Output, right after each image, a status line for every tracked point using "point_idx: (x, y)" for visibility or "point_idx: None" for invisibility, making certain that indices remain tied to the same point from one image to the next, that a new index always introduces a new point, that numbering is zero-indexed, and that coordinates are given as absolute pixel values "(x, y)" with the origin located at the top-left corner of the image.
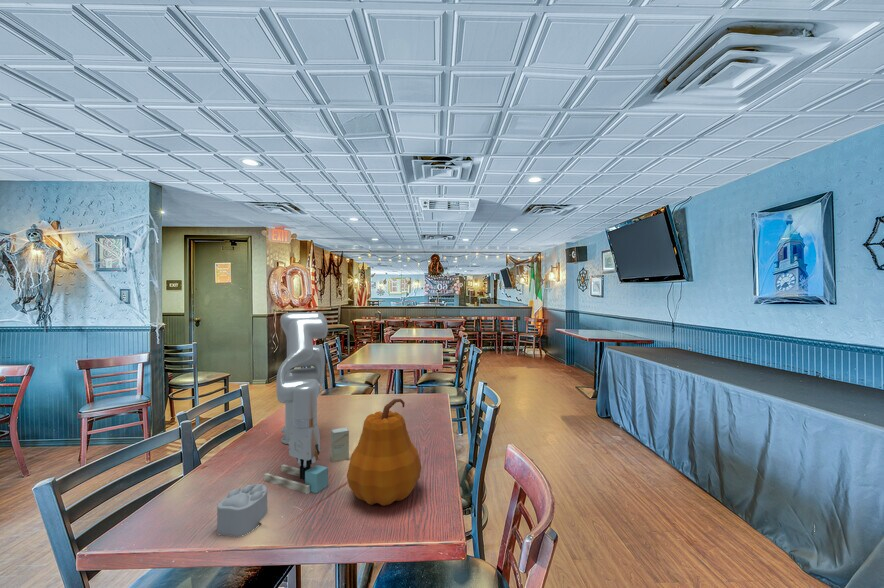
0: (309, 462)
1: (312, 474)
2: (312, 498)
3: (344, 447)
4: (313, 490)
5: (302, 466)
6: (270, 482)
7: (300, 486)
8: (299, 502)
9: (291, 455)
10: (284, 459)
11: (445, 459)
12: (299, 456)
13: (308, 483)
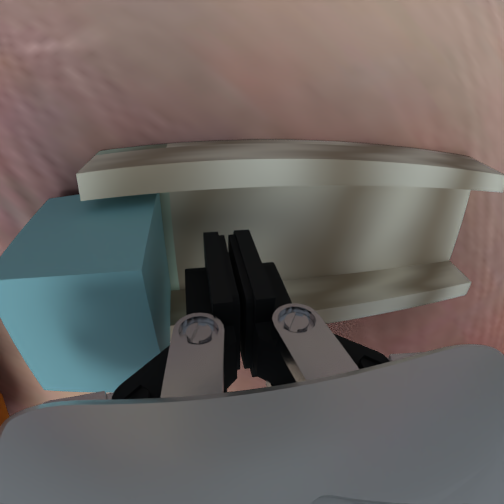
0: (130, 386)
1: (30, 269)
2: (64, 164)
3: None
4: (71, 201)
5: (255, 317)
6: (447, 156)
7: (162, 161)
8: (99, 83)
9: (459, 355)
10: (472, 326)
11: None
12: (265, 430)
13: (109, 213)
